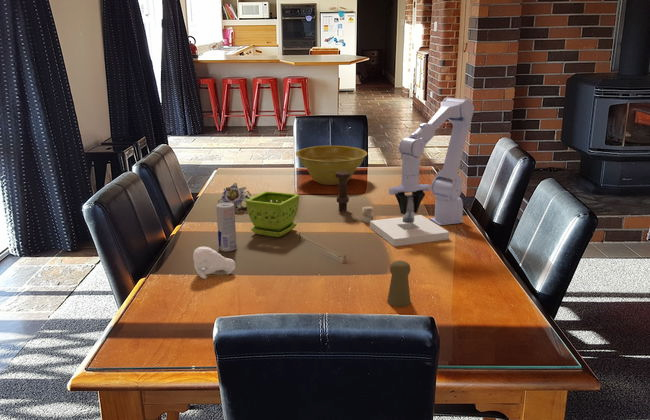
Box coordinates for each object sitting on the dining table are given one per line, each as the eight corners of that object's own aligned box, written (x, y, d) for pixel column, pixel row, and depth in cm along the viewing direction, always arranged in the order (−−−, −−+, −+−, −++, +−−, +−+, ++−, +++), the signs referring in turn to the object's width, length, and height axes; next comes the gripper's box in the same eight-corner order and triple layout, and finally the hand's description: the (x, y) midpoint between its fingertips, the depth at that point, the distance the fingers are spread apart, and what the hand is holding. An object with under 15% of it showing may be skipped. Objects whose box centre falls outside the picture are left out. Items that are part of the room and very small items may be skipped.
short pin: (370, 219, 221) (370, 206, 219) (374, 222, 217) (374, 209, 216) (360, 220, 220) (360, 207, 218) (364, 223, 216) (364, 210, 215)
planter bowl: (368, 190, 258) (369, 160, 254) (294, 190, 259) (293, 160, 255) (365, 172, 289) (365, 145, 285) (298, 173, 290) (297, 145, 286)
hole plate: (420, 221, 218) (421, 214, 217) (448, 239, 200) (449, 232, 199) (369, 227, 212) (370, 220, 211) (394, 246, 193) (394, 239, 193)
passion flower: (233, 224, 233) (213, 201, 229) (236, 210, 243) (217, 189, 238) (256, 209, 230) (236, 186, 226) (258, 196, 240) (239, 174, 235)
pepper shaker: (385, 297, 158) (386, 258, 154) (408, 296, 158) (409, 257, 155) (389, 307, 152) (390, 267, 149) (413, 306, 152) (414, 266, 149)
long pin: (411, 219, 207) (411, 193, 204) (416, 222, 203) (416, 196, 201) (400, 220, 206) (401, 194, 203) (405, 223, 202) (405, 197, 200)
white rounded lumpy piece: (193, 243, 172) (235, 244, 175) (193, 271, 175) (234, 271, 177) (192, 251, 166) (236, 252, 169) (192, 279, 169) (235, 280, 171)
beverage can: (239, 247, 194) (237, 202, 189) (231, 253, 189) (229, 207, 184) (224, 245, 196) (221, 201, 191) (215, 251, 191) (212, 206, 186)
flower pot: (301, 228, 211) (300, 194, 207) (282, 241, 199) (280, 204, 195) (266, 223, 217) (265, 189, 213) (246, 235, 205) (244, 199, 201)
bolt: (348, 213, 228) (348, 174, 223) (334, 212, 229) (334, 174, 224) (350, 208, 233) (350, 171, 229) (337, 208, 234) (337, 170, 230)
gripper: (424, 169, 205) (422, 207, 209) (385, 173, 201) (384, 211, 205) (434, 174, 199) (432, 213, 203) (394, 177, 194) (393, 217, 198)
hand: (408, 212), depth 203 cm, fingers closed on long pin, 4 cm apart
